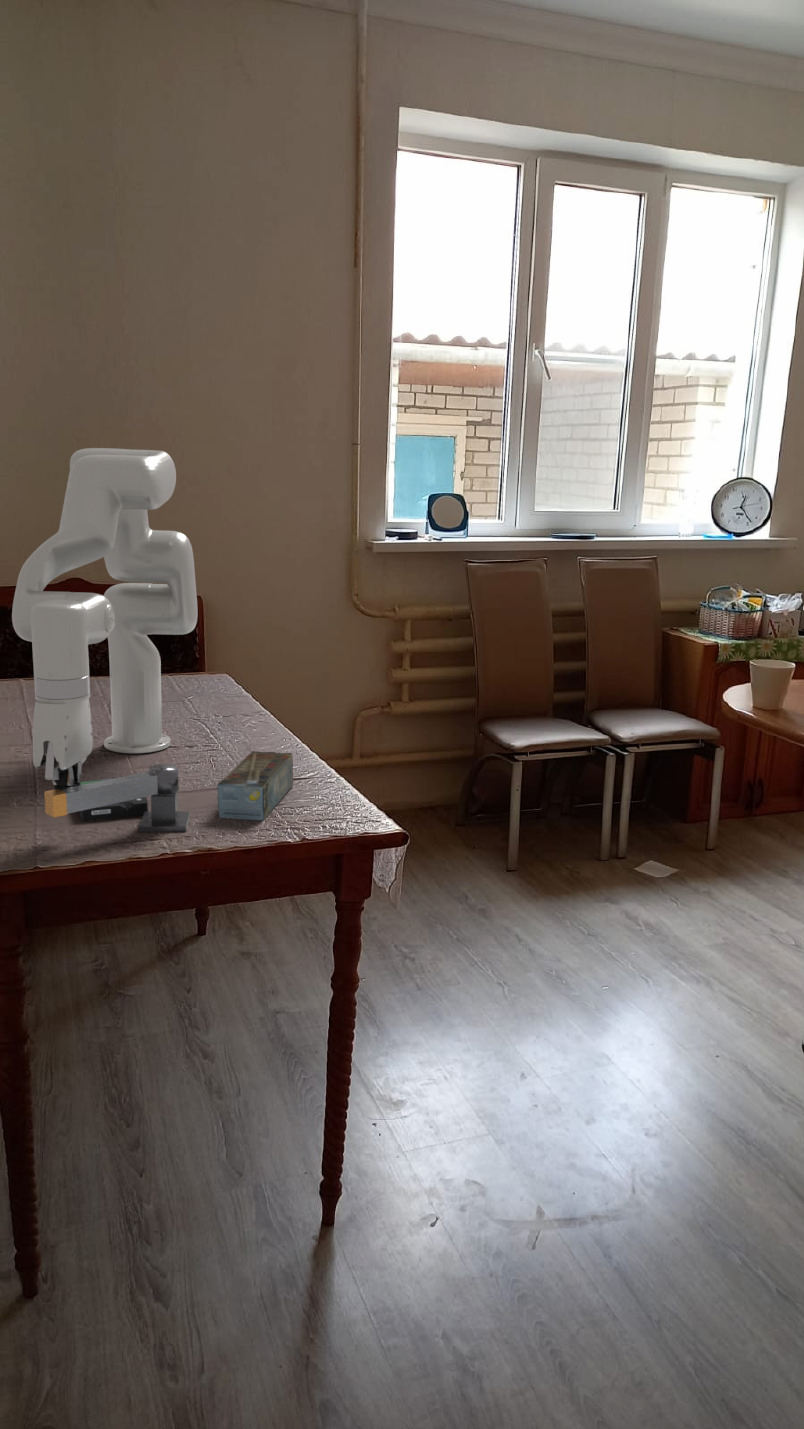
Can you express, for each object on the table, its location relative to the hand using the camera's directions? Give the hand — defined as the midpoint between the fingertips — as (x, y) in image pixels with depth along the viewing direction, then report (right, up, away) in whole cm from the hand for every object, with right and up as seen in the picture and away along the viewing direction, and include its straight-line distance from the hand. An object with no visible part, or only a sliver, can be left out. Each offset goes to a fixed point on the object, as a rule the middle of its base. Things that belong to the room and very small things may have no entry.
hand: (68, 808), depth 155 cm
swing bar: (+7, +1, +1) cm, 7 cm away
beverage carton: (+25, -1, +20) cm, 32 cm away
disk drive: (+1, -1, +16) cm, 17 cm away
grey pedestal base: (+12, -3, +8) cm, 15 cm away
